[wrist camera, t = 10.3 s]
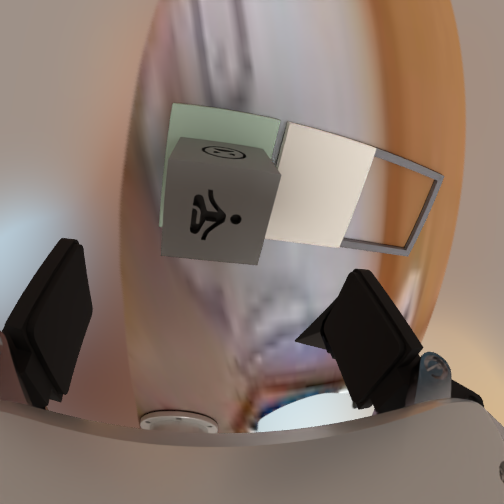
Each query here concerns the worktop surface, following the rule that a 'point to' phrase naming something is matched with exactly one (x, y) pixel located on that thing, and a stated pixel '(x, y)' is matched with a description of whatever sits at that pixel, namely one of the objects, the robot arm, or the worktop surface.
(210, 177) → the dice cube
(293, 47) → the worktop surface
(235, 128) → the game board
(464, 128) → the worktop surface
